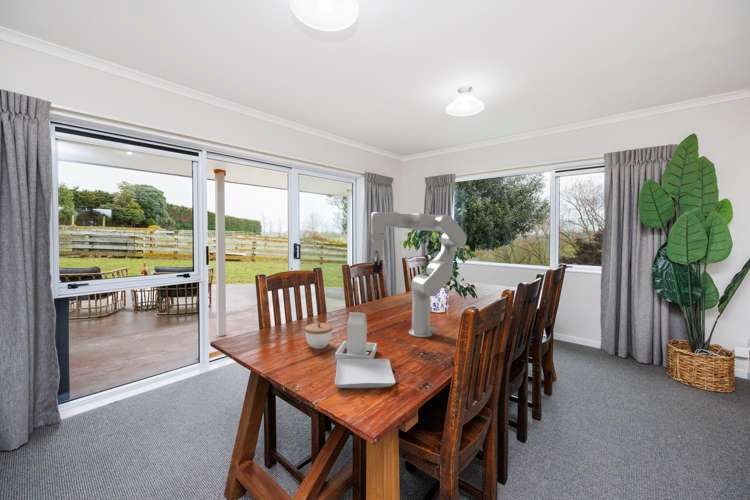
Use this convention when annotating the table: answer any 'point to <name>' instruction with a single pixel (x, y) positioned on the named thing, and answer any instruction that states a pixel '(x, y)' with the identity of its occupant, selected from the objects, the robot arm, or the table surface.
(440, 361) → the table surface
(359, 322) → the milk carton
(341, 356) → the square tray
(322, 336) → the lidded bowl
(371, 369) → the salad plate
